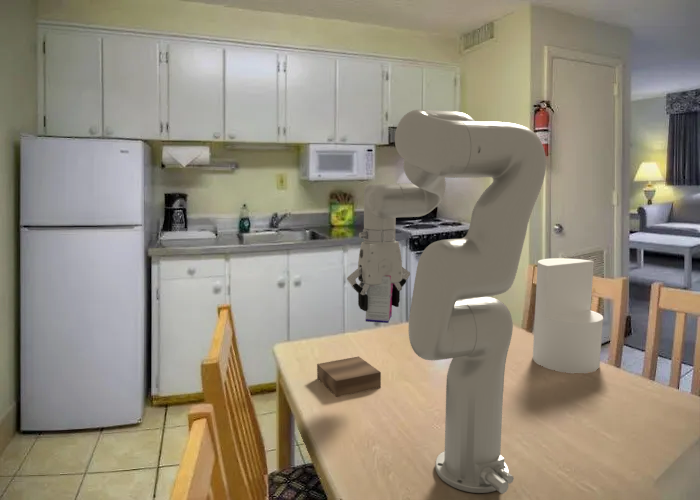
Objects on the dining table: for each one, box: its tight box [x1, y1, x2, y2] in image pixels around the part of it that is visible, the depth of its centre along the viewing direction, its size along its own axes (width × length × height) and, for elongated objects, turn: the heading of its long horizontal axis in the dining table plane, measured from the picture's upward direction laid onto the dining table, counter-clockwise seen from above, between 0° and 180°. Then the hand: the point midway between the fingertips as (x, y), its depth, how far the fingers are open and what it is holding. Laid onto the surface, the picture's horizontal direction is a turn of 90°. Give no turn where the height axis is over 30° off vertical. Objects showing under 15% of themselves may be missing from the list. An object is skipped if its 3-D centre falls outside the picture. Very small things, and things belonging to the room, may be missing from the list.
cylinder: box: [532, 257, 604, 374], centre depth 137 cm, size 17×17×28 cm
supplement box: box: [364, 276, 393, 324], centre depth 121 cm, size 6×6×12 cm
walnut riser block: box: [316, 356, 382, 398], centre depth 125 cm, size 12×12×4 cm
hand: (379, 307), depth 121 cm, fingers closed on supplement box, 7 cm apart
